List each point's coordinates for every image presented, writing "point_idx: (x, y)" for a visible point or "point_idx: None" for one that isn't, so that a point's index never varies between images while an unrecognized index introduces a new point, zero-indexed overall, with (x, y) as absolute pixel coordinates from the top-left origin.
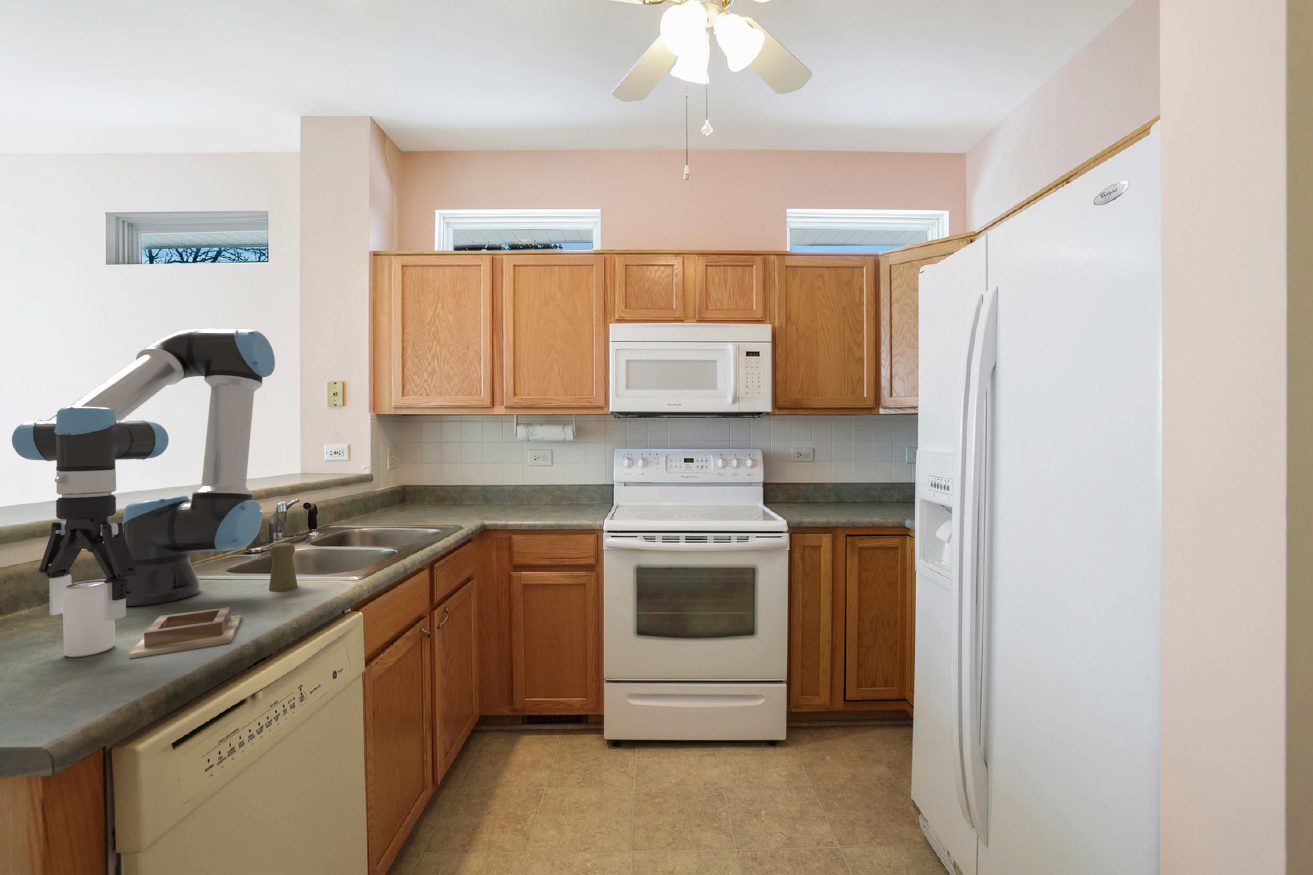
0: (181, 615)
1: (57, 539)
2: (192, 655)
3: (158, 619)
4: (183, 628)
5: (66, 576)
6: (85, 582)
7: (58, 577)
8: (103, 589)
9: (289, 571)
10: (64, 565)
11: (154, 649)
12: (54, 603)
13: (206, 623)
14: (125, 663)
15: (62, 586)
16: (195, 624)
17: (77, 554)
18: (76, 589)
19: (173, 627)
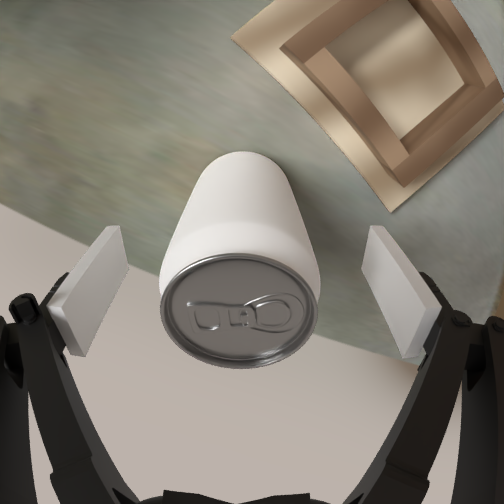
0: (349, 26)
1: (30, 502)
2: (483, 174)
3: (321, 73)
4: (459, 137)
5: (69, 320)
6: (168, 297)
7: (75, 341)
8: (317, 293)
9: None
10: (68, 378)
11: (421, 182)
12: (116, 287)
13: (483, 102)
14: (402, 228)
15: (90, 305)
16: (467, 110)
17: (76, 415)
18: (268, 357)
19: (437, 138)
